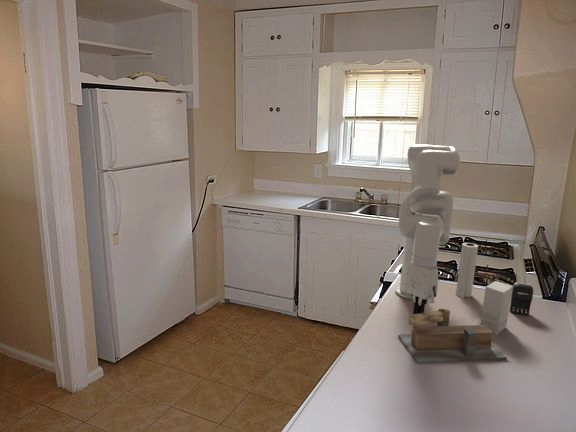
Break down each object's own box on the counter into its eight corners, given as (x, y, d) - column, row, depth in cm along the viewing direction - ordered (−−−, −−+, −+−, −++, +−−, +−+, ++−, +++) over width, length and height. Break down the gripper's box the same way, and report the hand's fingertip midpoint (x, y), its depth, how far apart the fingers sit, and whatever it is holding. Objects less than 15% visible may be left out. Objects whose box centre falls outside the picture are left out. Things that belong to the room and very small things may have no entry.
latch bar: (443, 315, 153) (444, 308, 152) (451, 320, 150) (452, 312, 149) (407, 322, 147) (408, 314, 146) (414, 327, 144) (415, 319, 143)
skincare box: (488, 321, 166) (494, 280, 163) (507, 327, 162) (514, 285, 158) (478, 328, 160) (484, 285, 157) (498, 335, 156) (504, 291, 152)
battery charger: (509, 313, 174) (513, 284, 171) (508, 309, 177) (513, 281, 174) (529, 317, 171) (534, 288, 168) (529, 313, 174) (534, 284, 172)
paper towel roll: (461, 290, 194) (468, 241, 189) (474, 295, 189) (481, 245, 184) (450, 294, 190) (457, 243, 185) (463, 299, 185) (470, 247, 180)
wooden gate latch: (397, 336, 152) (400, 312, 150) (478, 334, 156) (481, 310, 154) (417, 363, 136) (420, 336, 134) (506, 360, 140) (510, 334, 138)
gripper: (398, 254, 150) (393, 307, 154) (433, 269, 137) (426, 327, 142) (416, 252, 153) (410, 303, 158) (451, 266, 141) (444, 322, 145)
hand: (418, 314), depth 150 cm, fingers closed
